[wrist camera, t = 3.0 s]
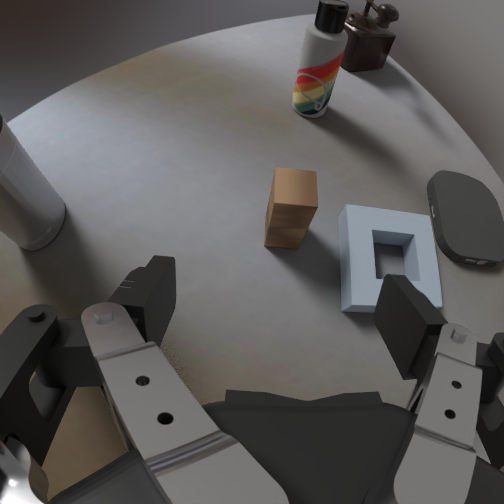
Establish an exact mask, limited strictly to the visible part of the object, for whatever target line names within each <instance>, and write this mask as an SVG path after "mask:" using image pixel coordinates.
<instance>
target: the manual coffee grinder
mask: <svg viewBox="0 0 504 504" xmlns="http://www.w3.org/2000/svg"><path fill="white" fill-rule="evenodd" d="M366 1H367V3H366V6H365V9H364V11H363V12H353V11H351V12H350V11H348V14H347V18H346V21H345V25H344V29H343V30H345V31H346V33H347V34H348V40H347V44H346V47H345V51H344V54H343V57H342V60H341V64H340V66H342V67H343V68H344V69H346V70H347V71H368V70H376V69H380V68H383V65H384V63H385V61H386V58H387V56H388V54H389V51H390V49H391V46H392V44H393V42H394V39H395V37H396V35H395V34H393V33H392V32H391V31H390V30H388V29H387V28H389V24H390V23H391V22H393V21H397V20H398V18H399V12H398V10H397V9H396V8H395V7H394V6H392V5H389V4H381V5H380V6H379V7H377V6H376V5H375V4H374V3H373V1H374V0H366ZM371 6H372V7H373V9H374V10H375V11H376V12H377V13H378V17H377V18H375V19H374V18H373V17H372V16H370V15H369V14H368V13H369V9H370V7H371Z"/></svg>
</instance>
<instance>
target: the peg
mask: <svg viewBox="0 0 504 504" xmlns="http://www.w3.org/2000/svg"><path fill="white" fill-rule="evenodd" d="M317 208H318V195H317V176H316V172H315V171H307V170H298V169H288V168H278V167H275V172H274V177H273V182H272V187H271V192H270V197H269V202H268V208H267V213H266V222H265V242H264V246H265V247H278V248H290V249H298V248H299V246H300V244H301V242H302V240H303V238H304V235H305V233H306V231H307V229H308V227H309V225H310V223H311V221H312V219H313V217H314V214H315V212H316V210H317Z"/></svg>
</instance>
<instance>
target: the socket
mask: <svg viewBox="0 0 504 504" xmlns="http://www.w3.org/2000/svg"><path fill="white" fill-rule="evenodd" d="M338 228H339V247H340V271H341V312H373V313H374V311H375V307H376V304H377V300H378V297H379V293H380V290H381V286H382V283H383V279H376V271H375V258H374V247H373V243H381V244H392V245H401V246H402V249H403V258H404V267H405V276H406V277H407V278H408V279H409V281H410V282H411V283H412V284H413V285H414V286H415V288H416V289H418V290H419V291H420V292H422V293H423V294H425V295H426V297H427V298H428V299H429V300H430V301H431V302H430V303H432V304H433V305H434V306H435V309H438V308H440V307H442V297H441V287H440V279H439V271H438V263H437V256H436V250H435V244H434V238H433V232H432V226H431V221H430V216H427V215H421V214H414V213H408V212H401V211H394V210H387V209H379V208H372V207H364V206H356V205H348V204H346V205H345V207H344V209H343V210H342V212H341V214H340V215H339V217H338Z"/></svg>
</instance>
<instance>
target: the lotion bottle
mask: <svg viewBox="0 0 504 504" xmlns="http://www.w3.org/2000/svg"><path fill="white" fill-rule="evenodd" d="M348 10H349V6H348V4H347V3H345V2H343V1H340V0H319V4H318V9H317V13H316V18H315V22H311V23H309V24H308V25H307V27H306V32H305V37H304V42H303V47H302V52H301V57H300V62H299V67H298V72H297V77H296V82H295V87H294V92H293V97H292V107H293V109H294V110H295V111H296V112H297V113H298V114H300V115H302V116H305V117H309V118H316V117H320V116H322V115H323V114H324V113H325V111H326V108H327V105H328V102H329V99H330V96H331V93H332V90H333V86H334V83H335V80H336V77H337V74H338V70H339V67H340V64H341V60H342V57H343V54H344V51H345V47H346V44H347V40H348V34H347V33H346V31H345V30H343V29H344V25H345V21H346V18H347V14H348Z"/></svg>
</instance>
